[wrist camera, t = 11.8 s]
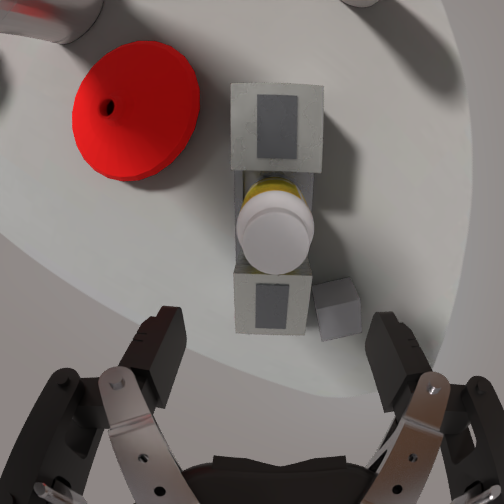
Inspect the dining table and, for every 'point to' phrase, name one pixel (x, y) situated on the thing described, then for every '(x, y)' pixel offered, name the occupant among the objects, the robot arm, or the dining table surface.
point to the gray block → (337, 309)
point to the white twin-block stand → (264, 165)
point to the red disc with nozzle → (136, 110)
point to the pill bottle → (275, 226)
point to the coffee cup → (360, 2)
